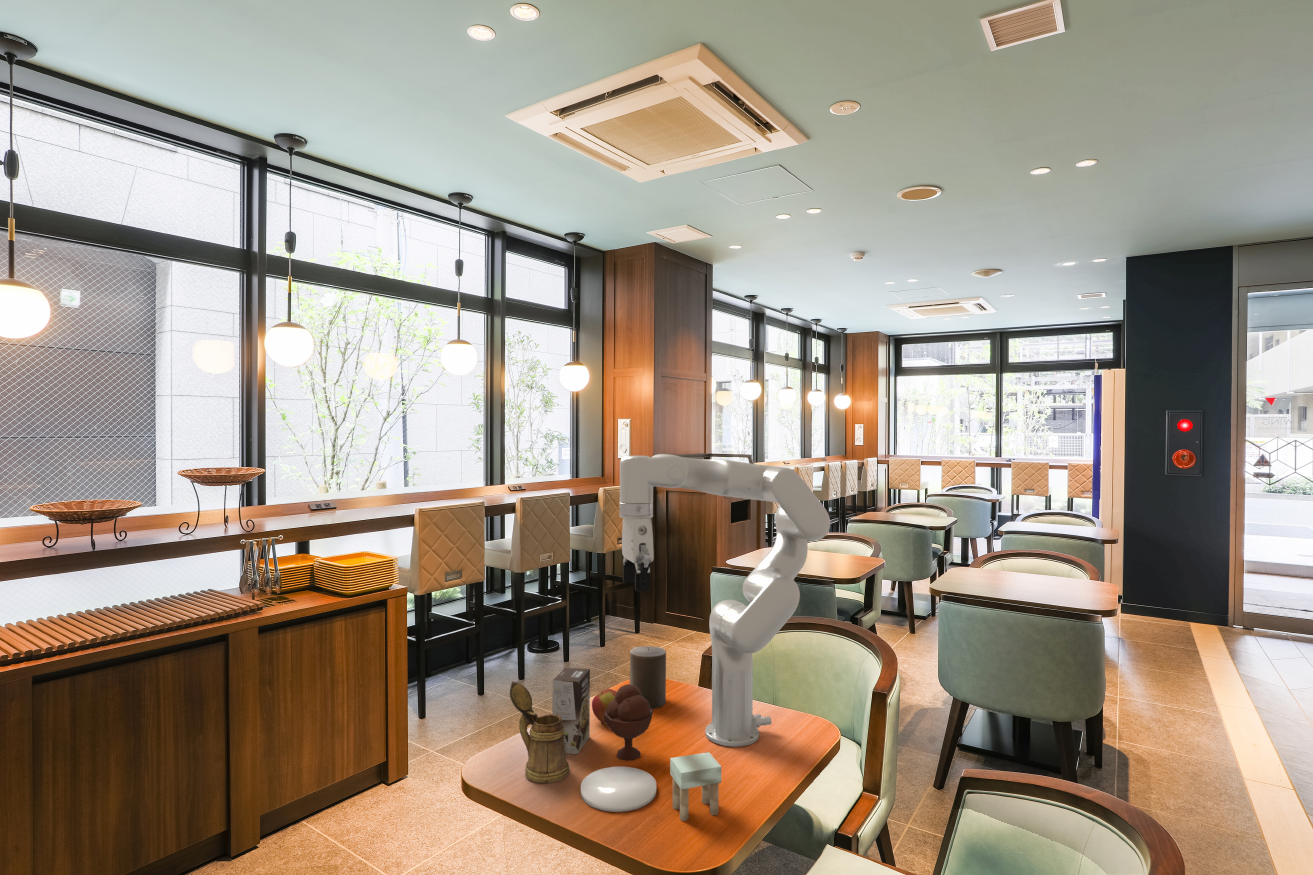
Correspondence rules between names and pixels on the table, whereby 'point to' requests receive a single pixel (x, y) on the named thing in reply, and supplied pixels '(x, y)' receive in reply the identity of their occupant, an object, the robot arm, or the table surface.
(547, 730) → the wooden mug
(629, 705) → the ice cream bowl
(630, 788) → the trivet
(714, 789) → the mint green stool
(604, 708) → the apple
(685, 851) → the table surface
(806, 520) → the robot arm
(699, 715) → the table surface
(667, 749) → the table surface
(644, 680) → the pillar candle
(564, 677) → the coffee box
